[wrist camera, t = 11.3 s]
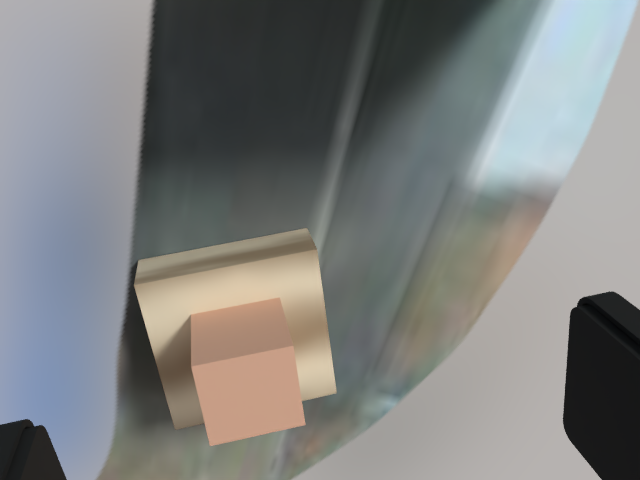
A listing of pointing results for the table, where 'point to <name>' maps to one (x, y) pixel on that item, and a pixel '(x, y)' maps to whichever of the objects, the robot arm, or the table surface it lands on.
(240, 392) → the cube
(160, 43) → the table surface
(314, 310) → the base
